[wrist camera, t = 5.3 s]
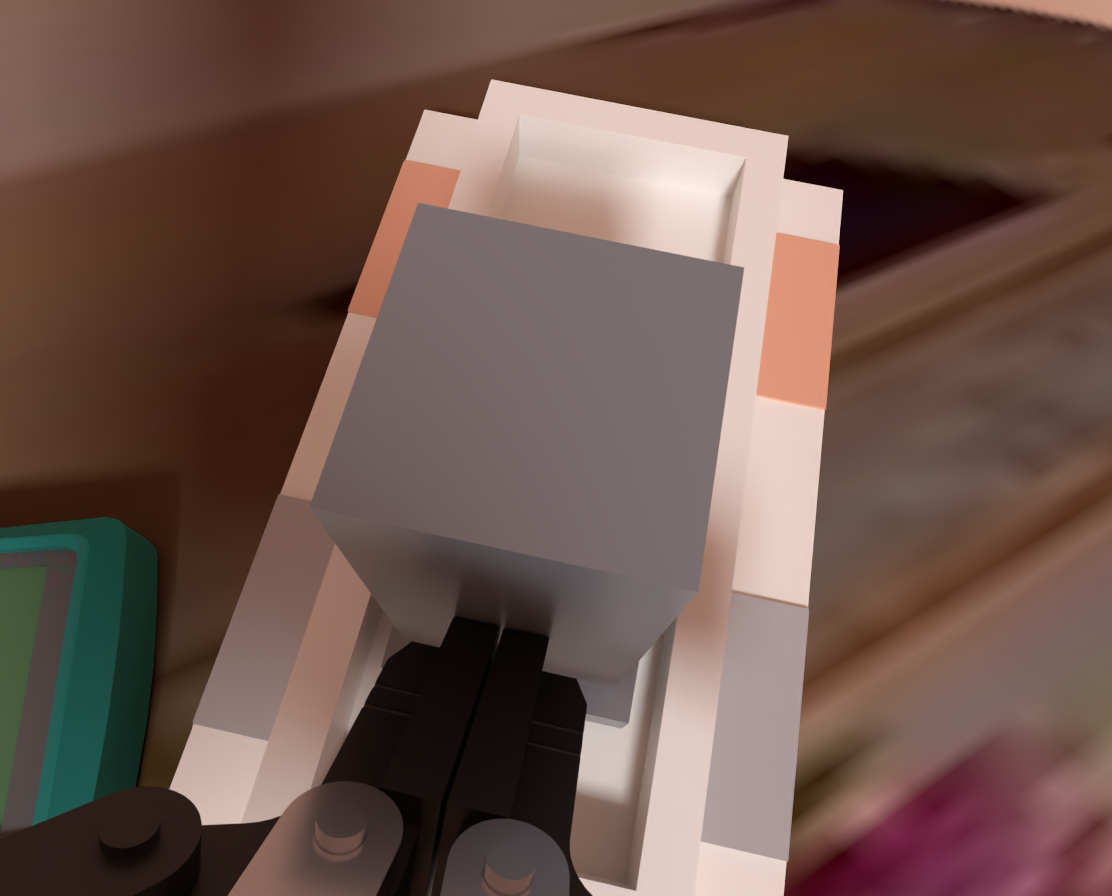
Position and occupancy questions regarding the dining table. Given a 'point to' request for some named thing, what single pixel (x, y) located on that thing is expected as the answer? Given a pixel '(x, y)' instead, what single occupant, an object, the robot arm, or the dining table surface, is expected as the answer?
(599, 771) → the switch housing
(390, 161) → the dining table surface
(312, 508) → the slider tab
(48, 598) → the digital multimeter
